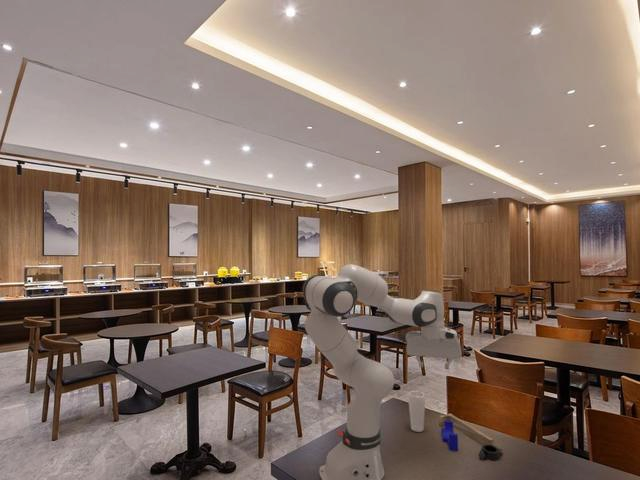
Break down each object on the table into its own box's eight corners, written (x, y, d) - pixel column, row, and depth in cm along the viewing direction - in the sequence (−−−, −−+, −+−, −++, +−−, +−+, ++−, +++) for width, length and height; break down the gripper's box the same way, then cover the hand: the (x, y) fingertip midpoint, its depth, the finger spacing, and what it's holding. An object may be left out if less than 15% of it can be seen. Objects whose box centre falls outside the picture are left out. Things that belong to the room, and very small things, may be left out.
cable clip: (441, 434, 148) (440, 420, 148) (452, 435, 147) (452, 420, 147) (445, 450, 136) (445, 434, 136) (458, 451, 135) (457, 435, 135)
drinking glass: (407, 430, 150) (406, 395, 151) (411, 424, 156) (411, 389, 157) (423, 435, 147) (422, 398, 147) (427, 428, 153) (426, 392, 153)
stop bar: (481, 453, 133) (481, 442, 133) (439, 425, 155) (439, 415, 155) (493, 450, 135) (493, 439, 136) (450, 422, 157) (450, 413, 157)
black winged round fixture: (509, 464, 127) (508, 455, 127) (479, 461, 128) (479, 453, 128) (501, 451, 135) (501, 444, 135) (473, 450, 136) (473, 442, 136)
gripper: (404, 332, 138) (406, 368, 137) (461, 334, 132) (462, 372, 131) (405, 328, 144) (406, 363, 143) (459, 331, 138) (461, 367, 137)
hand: (434, 367), depth 137 cm, fingers open, 8 cm apart
